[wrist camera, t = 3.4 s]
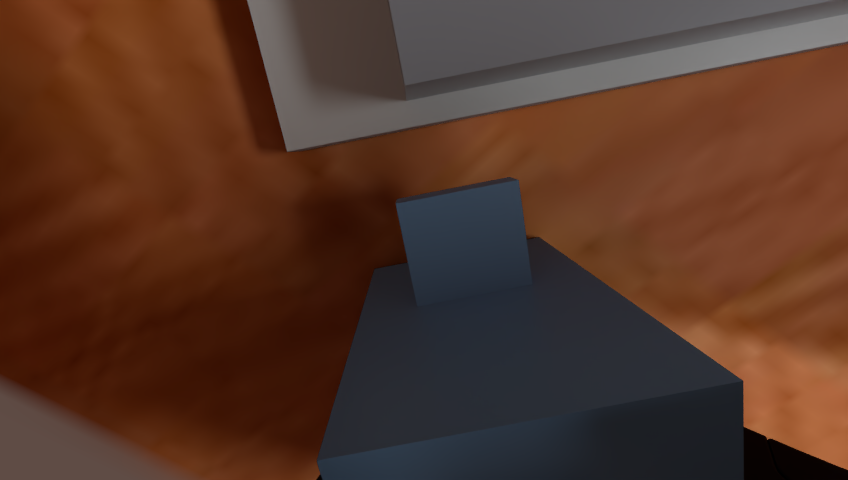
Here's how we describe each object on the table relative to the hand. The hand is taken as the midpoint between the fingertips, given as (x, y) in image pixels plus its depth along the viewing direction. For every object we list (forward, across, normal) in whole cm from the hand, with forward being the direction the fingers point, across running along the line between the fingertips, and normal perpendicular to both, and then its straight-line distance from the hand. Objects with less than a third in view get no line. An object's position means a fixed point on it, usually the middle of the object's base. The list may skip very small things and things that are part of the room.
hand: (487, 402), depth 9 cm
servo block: (+2, 0, 0) cm, 2 cm away
